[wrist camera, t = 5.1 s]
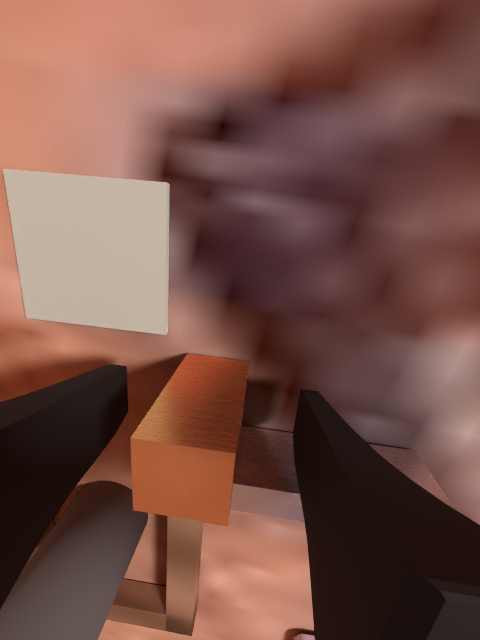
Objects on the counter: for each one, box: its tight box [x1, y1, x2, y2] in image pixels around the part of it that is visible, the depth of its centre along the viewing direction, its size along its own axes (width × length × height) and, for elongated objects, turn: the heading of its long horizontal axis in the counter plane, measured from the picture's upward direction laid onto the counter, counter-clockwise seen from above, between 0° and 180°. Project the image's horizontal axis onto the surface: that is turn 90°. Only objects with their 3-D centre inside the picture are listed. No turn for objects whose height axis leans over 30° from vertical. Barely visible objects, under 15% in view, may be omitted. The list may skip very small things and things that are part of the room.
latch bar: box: [130, 354, 455, 526], centre depth 9 cm, size 4×10×5 cm, turn 85°
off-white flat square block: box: [3, 169, 170, 335], centre depth 11 cm, size 6×6×1 cm
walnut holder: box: [25, 516, 203, 636], centre depth 15 cm, size 12×10×1 cm
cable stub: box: [0, 481, 148, 640], centre depth 12 cm, size 4×4×6 cm
